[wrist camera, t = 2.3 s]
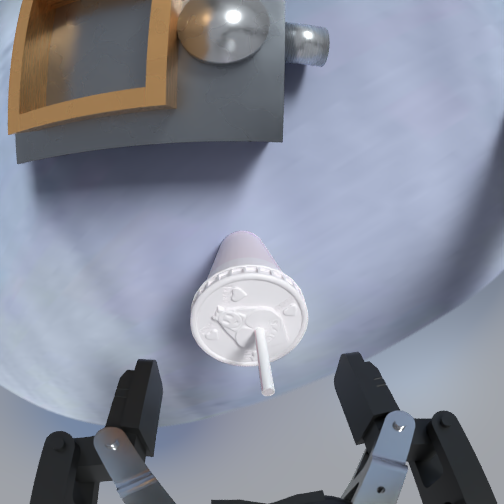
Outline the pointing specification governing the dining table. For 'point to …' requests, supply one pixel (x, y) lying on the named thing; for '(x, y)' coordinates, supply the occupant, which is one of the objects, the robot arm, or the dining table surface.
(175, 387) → the dining table surface
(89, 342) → the dining table surface
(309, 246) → the dining table surface
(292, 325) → the smoothie
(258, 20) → the grey flat boxy piece
